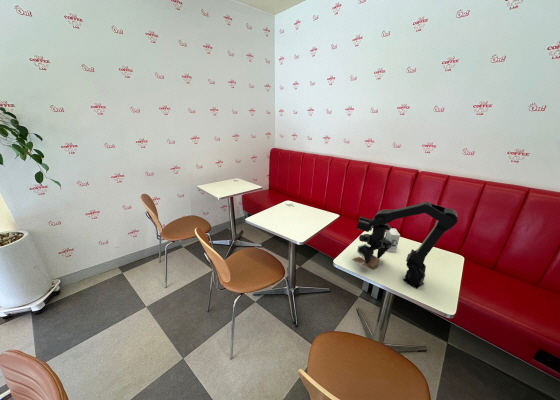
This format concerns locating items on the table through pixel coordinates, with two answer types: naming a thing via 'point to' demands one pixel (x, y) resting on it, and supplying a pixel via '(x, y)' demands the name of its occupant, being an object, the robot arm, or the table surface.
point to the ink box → (392, 239)
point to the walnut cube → (373, 263)
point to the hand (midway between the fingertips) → (372, 260)
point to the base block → (360, 246)
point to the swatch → (359, 260)
